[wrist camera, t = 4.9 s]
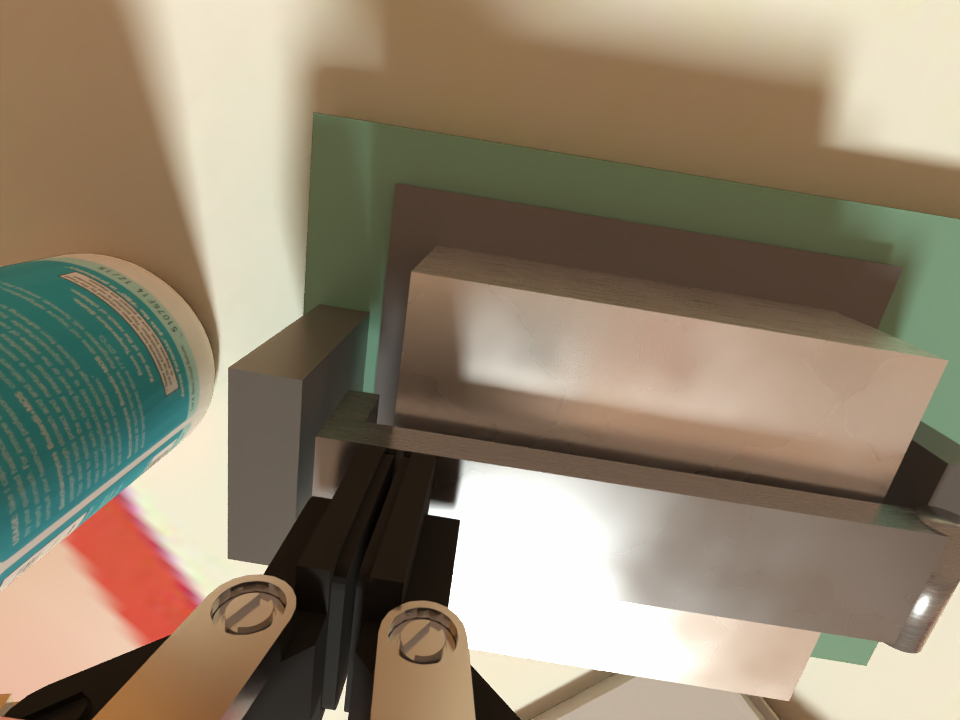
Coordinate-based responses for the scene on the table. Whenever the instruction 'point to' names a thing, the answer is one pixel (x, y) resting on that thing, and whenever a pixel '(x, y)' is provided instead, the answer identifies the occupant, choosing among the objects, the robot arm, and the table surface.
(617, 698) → the gadget
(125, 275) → the pill bottle
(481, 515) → the strap
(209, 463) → the table surface
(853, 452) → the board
